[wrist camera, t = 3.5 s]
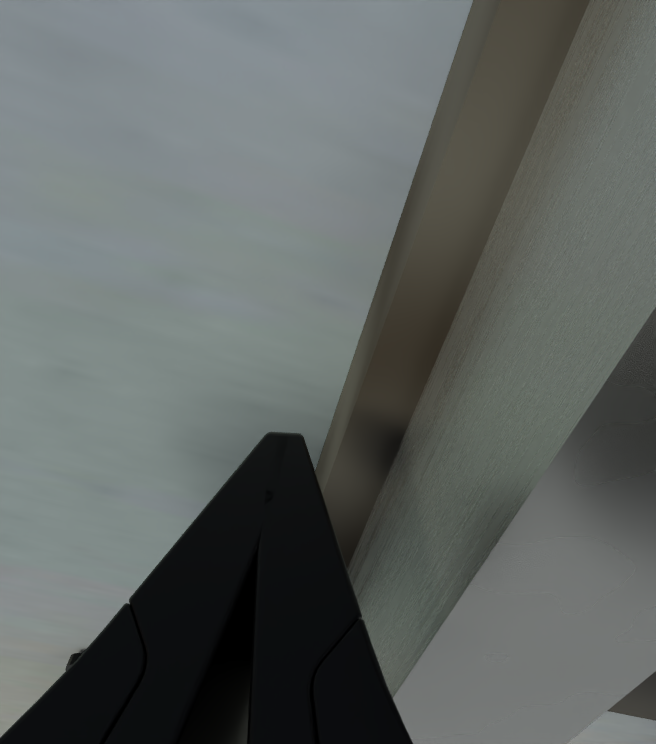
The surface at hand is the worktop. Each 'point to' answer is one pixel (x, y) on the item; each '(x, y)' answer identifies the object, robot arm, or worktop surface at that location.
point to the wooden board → (446, 250)
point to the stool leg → (537, 436)
